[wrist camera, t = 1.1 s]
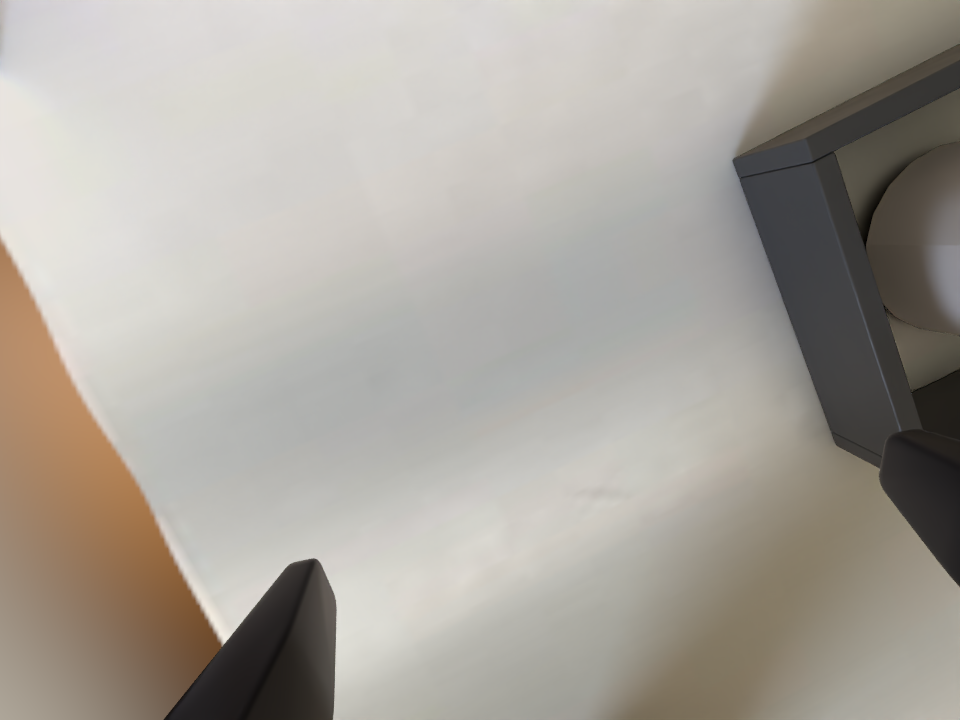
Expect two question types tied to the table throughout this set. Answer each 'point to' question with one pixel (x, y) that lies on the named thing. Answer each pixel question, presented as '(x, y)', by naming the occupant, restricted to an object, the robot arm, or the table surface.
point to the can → (920, 242)
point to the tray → (845, 266)
